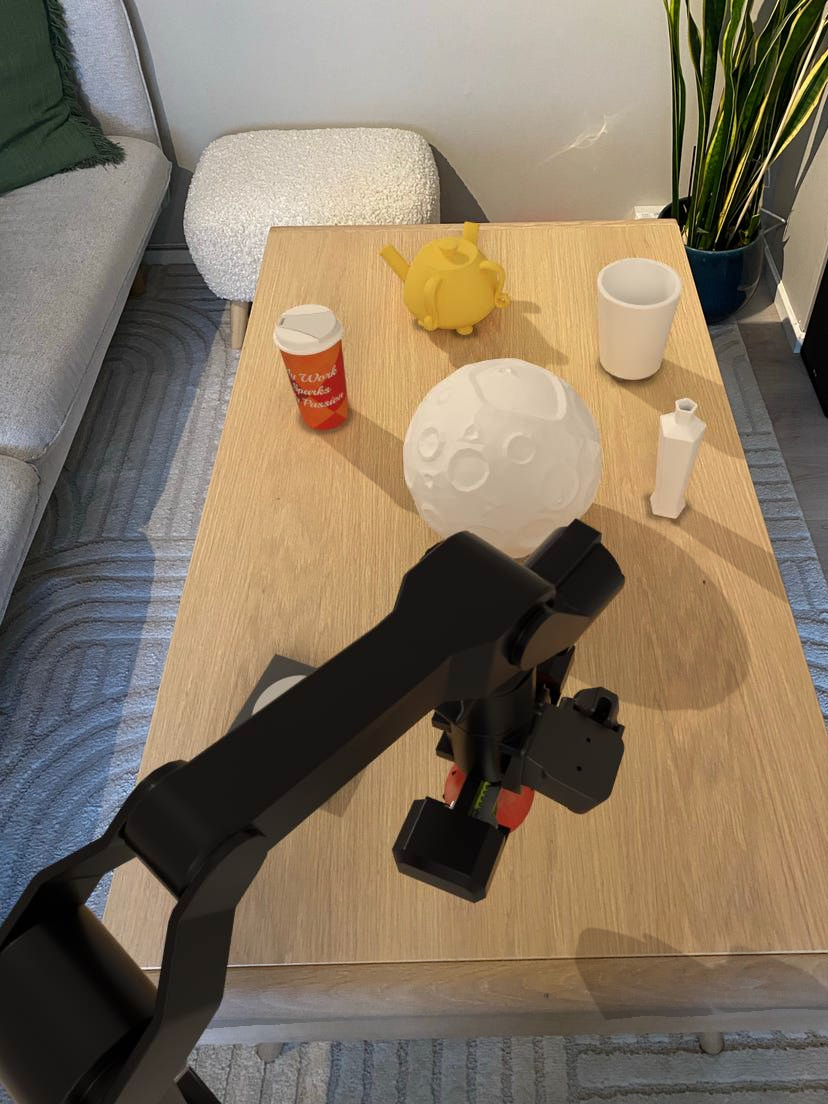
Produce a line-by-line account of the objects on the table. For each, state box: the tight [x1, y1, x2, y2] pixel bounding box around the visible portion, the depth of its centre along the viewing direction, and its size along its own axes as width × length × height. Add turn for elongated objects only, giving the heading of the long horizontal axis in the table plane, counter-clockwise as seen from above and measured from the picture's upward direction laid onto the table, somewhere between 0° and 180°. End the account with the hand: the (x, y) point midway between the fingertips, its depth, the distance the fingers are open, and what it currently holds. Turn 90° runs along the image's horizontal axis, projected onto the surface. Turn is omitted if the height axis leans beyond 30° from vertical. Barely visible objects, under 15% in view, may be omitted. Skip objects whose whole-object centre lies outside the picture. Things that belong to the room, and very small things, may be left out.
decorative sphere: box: [402, 357, 603, 559], centre depth 92 cm, size 20×20×20 cm
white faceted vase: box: [649, 397, 708, 519], centre depth 94 cm, size 5×4×15 cm
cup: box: [596, 257, 684, 383], centre depth 110 cm, size 10×10×13 cm
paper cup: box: [272, 303, 349, 431], centre depth 106 cm, size 8×8×14 cm
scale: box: [225, 653, 318, 735], centre depth 82 cm, size 10×10×3 cm
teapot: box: [378, 221, 511, 335], centre depth 119 cm, size 14×14×11 cm
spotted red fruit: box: [441, 762, 536, 835], centre depth 66 cm, size 8×7×10 cm
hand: (492, 796), depth 67 cm, fingers closed on spotted red fruit, 7 cm apart
